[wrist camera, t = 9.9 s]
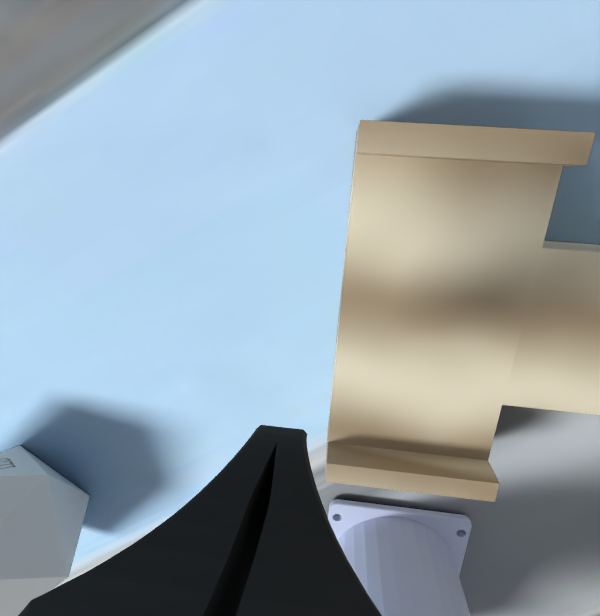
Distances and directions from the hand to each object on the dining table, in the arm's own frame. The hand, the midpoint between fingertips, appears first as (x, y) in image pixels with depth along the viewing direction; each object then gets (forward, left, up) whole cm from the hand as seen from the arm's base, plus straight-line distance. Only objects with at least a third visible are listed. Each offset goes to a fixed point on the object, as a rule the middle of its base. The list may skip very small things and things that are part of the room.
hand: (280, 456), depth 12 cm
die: (-12, +16, -10) cm, 22 cm away
